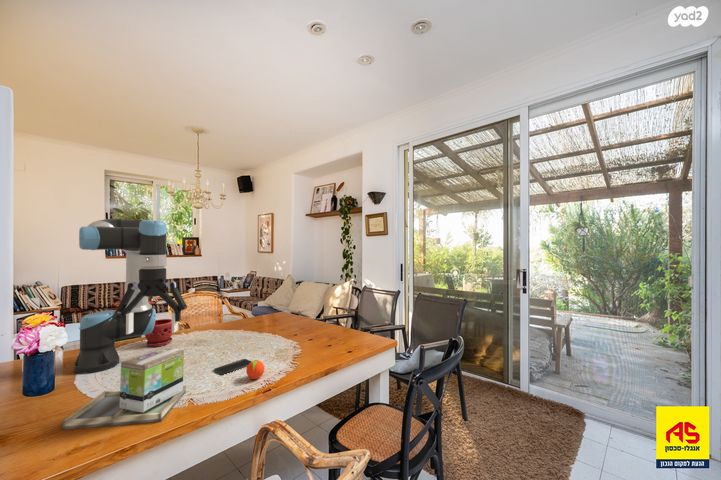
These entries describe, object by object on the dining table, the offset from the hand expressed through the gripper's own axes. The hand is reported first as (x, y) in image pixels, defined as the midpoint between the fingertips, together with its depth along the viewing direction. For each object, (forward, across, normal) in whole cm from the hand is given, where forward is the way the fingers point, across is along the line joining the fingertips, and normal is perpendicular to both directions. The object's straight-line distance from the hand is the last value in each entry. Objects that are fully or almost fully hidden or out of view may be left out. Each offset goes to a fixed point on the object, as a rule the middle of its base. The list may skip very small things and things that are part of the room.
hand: (152, 332), depth 102 cm
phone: (+25, +19, +30) cm, 43 cm away
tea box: (+22, 0, 0) cm, 22 cm away
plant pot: (+25, -28, +68) cm, 78 cm away
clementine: (+25, +30, +17) cm, 42 cm away
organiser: (+24, -6, 0) cm, 25 cm away
